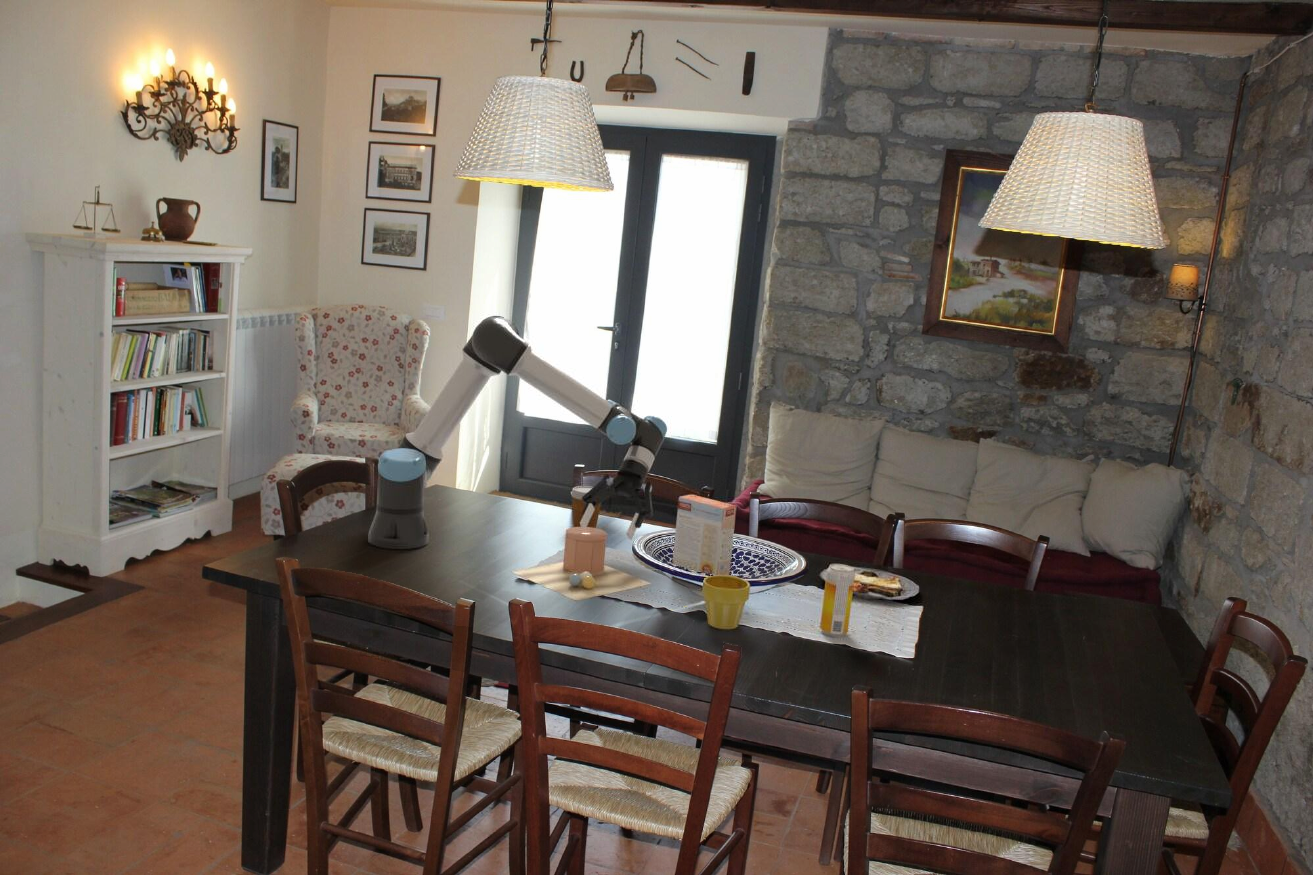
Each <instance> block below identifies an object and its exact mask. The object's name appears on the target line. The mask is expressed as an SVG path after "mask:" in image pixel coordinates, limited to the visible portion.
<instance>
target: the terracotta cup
mask: <svg viewBox="0 0 1313 875" xmlns="http://www.w3.org/2000/svg"><path fill="white" fill-rule="evenodd" d="M564 540H565V541H564V551H563V552H564V553H563V554H564V555H563V562H564V563H563V568H564V569H567V570H569V571H571V572H574V573H583V572H589V573H590V574H593V573H598V572H603V570H604V565H605V559H606V549H607V548H606V547H607V540H608V532H607V531H605V530H604V529H600V528H597V527H596V528H592V527H573V526H572V527H568V528H567V529H565V539H564Z"/></svg>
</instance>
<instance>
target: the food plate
mask: <svg viewBox="0 0 1313 875" xmlns="http://www.w3.org/2000/svg"><path fill="white" fill-rule="evenodd" d="M851 567H852V568H854V573H855V579H854V587H853V594H852V595H854V596H857V597H859V598H863V599H867V600H868V599H875V600H879V599H881V600H891V601H893V600H901V601H902V600H905V599H906V600H907V599H909V598H910V597H914V596H916V595H917V594H919V592H920V586H919V585H918V584H916V583H915V582H913V581H912V580H910V579H909V578H906V577H904V576H901V575H897V574H893V573H891V572H888V571H886V570H882V569H879V568H878V569H876V568H870V567H868V568H867V567H857V566H851ZM827 569H828V568H825V569H823V570H821V572H820V573H819V576H818V577H819V578H821V580H823V582H824V583H825V582H826V574H827ZM899 593H900V595H899ZM888 596H889V597H888Z"/></svg>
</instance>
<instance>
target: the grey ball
mask: <svg viewBox="0 0 1313 875" xmlns="http://www.w3.org/2000/svg"><path fill="white" fill-rule="evenodd" d="M581 582H582V578H581V576H580V575H579V574H572V575H571V576H570V577H569V583H570V584H571V585H572V586H574V587H576V586H579V585H580V584H581Z"/></svg>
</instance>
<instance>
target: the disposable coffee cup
mask: <svg viewBox="0 0 1313 875" xmlns="http://www.w3.org/2000/svg"><path fill="white" fill-rule="evenodd" d="M593 487H594V486H588V485H580V486H575V487H573V488H572V491H570V494H571V501H572V502H571V503H572V522H573V523H572V524H573V526H572V527H581V525H580V522H581V520H582V518H583V514H582V512H583V510H584V507H585V504H584V502H583V500H582V497H583V496H584V495H585V494H586V493H587V492H589V491H590V490H591V489H592V488H593ZM601 506H602V502H601V503H600V504H598V505H596V506H594V509H595V510H594V512H593V514H592V516H591V518H590V520H589V523H588V525H587V527H592V528H597V526H598V525H597V524H598V521H599V516H600V510H601V508H602V507H601Z"/></svg>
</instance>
